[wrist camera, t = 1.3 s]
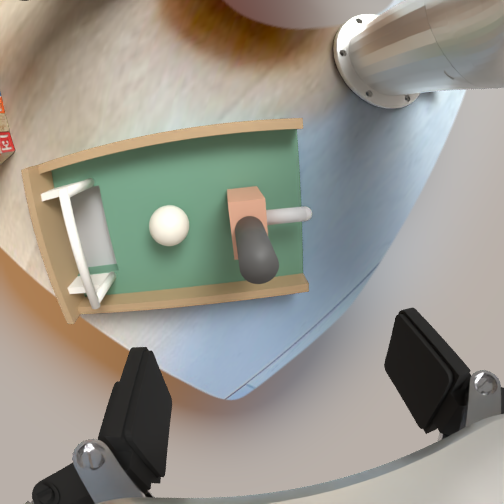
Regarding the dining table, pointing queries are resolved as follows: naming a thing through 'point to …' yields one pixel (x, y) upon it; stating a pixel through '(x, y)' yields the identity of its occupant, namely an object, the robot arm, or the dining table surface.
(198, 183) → the pitch
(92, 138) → the dining table surface
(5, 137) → the stack of blocks
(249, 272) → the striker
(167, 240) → the ball
